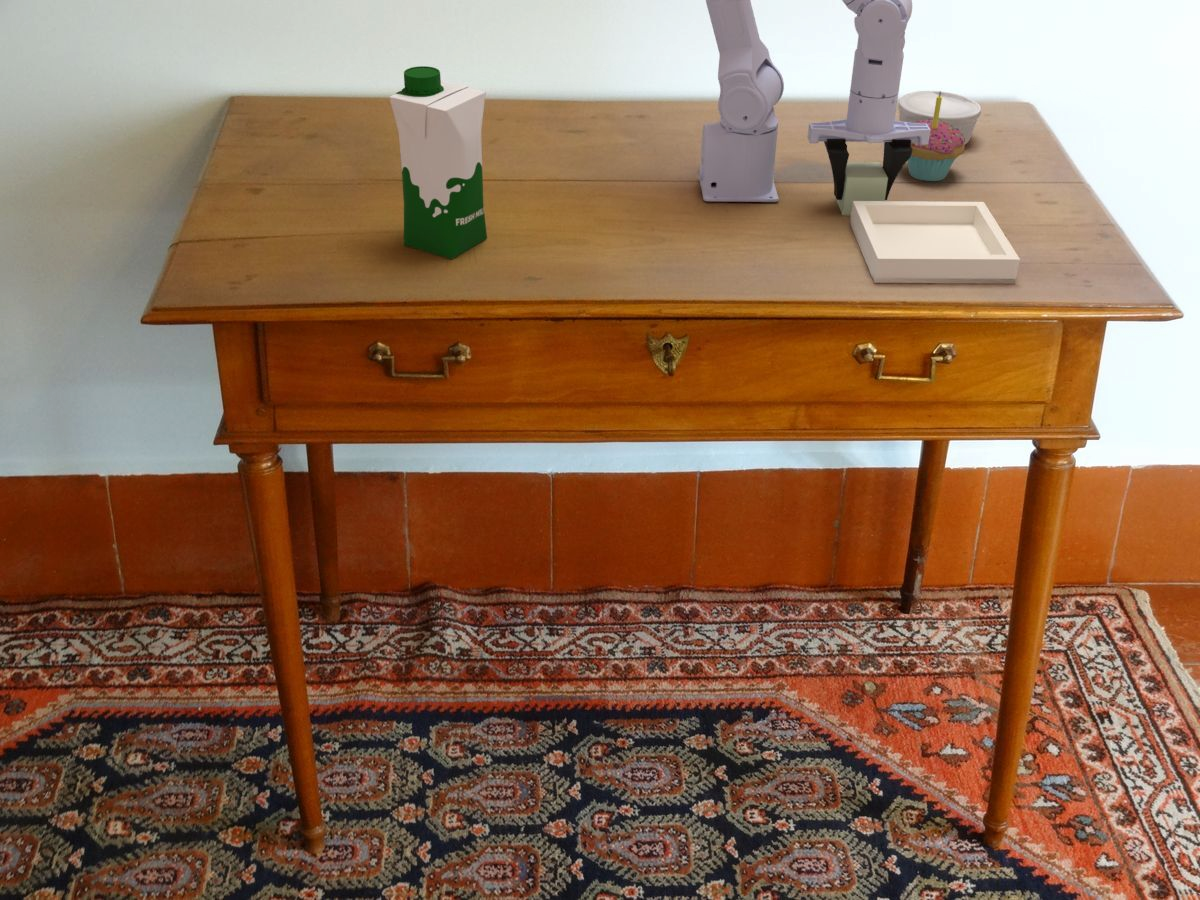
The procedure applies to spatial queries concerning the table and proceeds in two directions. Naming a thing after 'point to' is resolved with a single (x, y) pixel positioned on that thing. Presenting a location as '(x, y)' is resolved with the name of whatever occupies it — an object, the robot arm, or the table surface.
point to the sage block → (862, 184)
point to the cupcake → (936, 149)
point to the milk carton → (440, 162)
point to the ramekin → (941, 110)
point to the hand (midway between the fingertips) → (860, 196)
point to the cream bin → (933, 242)
